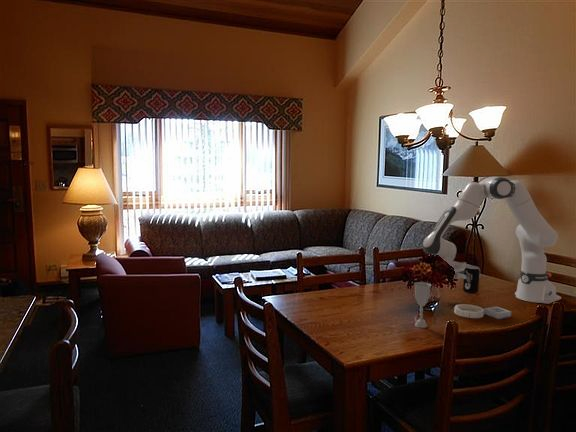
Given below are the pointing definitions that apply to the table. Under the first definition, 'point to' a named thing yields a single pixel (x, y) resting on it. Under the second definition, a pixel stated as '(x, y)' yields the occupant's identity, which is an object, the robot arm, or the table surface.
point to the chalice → (422, 300)
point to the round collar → (469, 311)
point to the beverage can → (471, 279)
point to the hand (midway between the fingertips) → (473, 276)
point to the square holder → (497, 312)
